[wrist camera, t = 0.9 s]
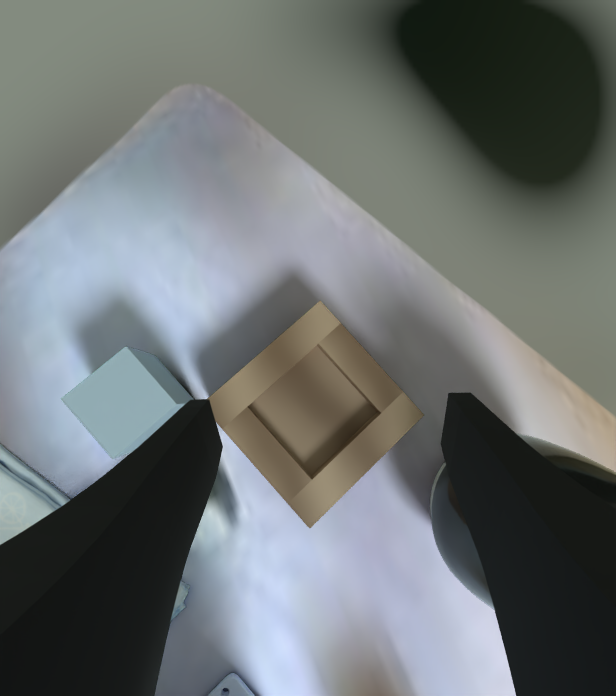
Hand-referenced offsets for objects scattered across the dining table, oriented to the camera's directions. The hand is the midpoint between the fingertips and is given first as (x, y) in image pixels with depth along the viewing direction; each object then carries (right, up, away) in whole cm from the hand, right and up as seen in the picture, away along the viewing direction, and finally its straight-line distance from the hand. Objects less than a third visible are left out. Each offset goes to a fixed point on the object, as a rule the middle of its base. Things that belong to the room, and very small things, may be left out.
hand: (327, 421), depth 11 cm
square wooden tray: (0, -2, +15) cm, 15 cm away
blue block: (-12, -1, +14) cm, 18 cm away
